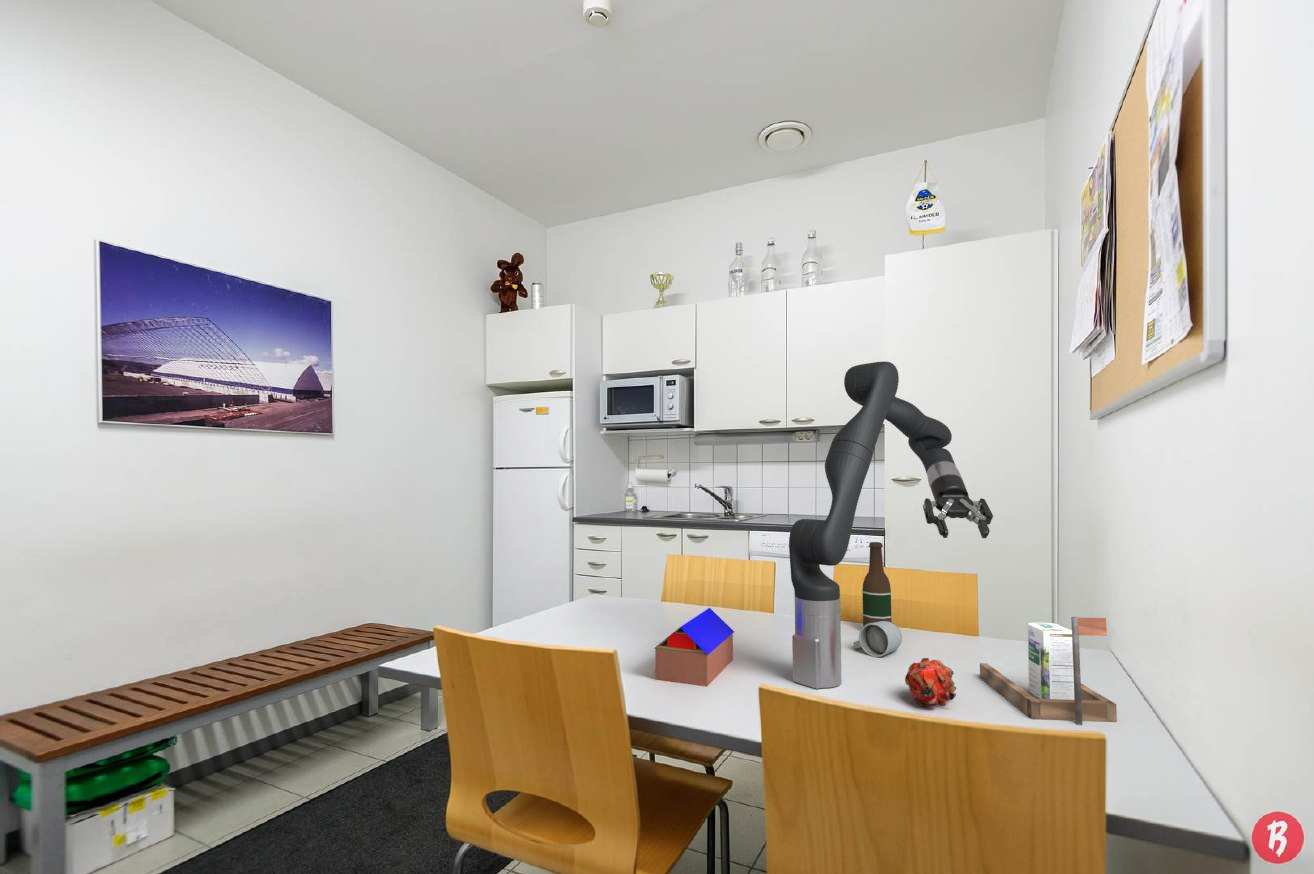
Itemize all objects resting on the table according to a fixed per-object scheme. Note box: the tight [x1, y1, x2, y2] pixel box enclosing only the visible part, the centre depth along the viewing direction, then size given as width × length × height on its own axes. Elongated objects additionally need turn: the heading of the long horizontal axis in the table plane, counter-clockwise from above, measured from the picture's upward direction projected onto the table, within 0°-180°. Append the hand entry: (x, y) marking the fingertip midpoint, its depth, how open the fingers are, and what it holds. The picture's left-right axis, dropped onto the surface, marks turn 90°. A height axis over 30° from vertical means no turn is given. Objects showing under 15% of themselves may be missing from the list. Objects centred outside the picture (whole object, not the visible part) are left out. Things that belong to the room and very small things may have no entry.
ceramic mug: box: [853, 621, 903, 658], centre depth 152 cm, size 11×8×8 cm
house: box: [654, 607, 735, 687], centre depth 139 cm, size 12×20×12 cm, turn 158°
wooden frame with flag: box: [979, 616, 1118, 726], centre depth 120 cm, size 24×14×18 cm, turn 174°
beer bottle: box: [862, 541, 893, 628], centre depth 170 cm, size 8×8×24 cm
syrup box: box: [1027, 622, 1074, 700], centre depth 117 cm, size 6×6×14 cm
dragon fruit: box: [904, 657, 957, 708], centre depth 118 cm, size 8×8×12 cm
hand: (965, 535), depth 143 cm, fingers open, 8 cm apart
